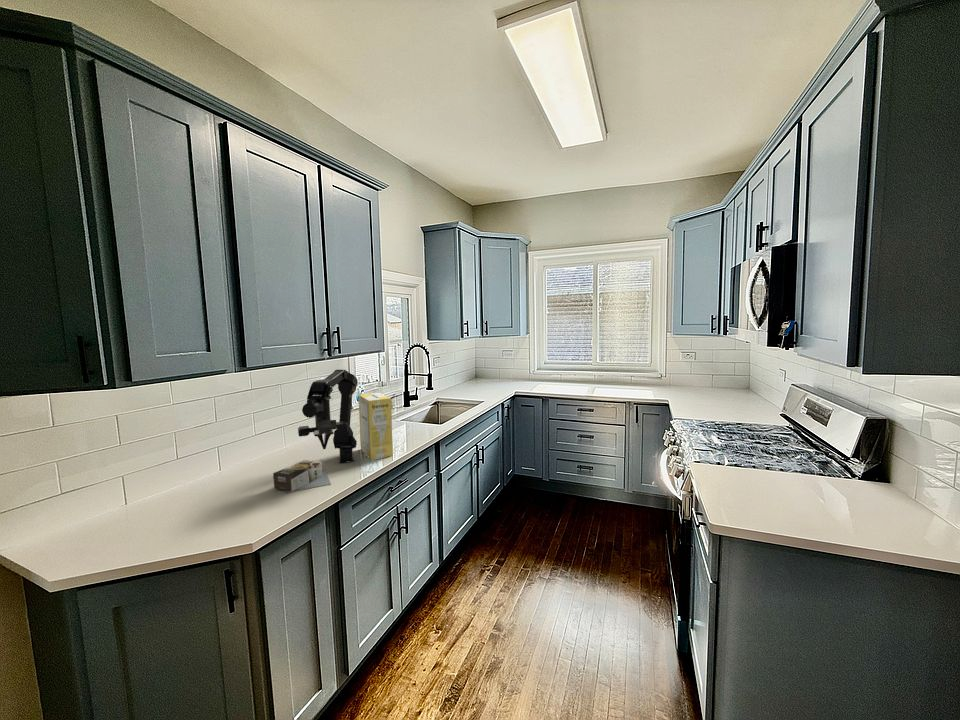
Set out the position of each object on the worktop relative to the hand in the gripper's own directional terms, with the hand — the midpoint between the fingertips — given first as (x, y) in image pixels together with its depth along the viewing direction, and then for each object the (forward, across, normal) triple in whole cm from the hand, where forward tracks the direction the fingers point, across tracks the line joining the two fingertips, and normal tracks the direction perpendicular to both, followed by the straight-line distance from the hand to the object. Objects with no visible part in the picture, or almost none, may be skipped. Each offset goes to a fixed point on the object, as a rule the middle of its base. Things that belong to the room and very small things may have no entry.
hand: (324, 449), depth 164 cm
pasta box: (+12, +26, +21) cm, 36 cm away
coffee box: (+8, -4, +4) cm, 10 cm away
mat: (+12, -7, 0) cm, 14 cm away
